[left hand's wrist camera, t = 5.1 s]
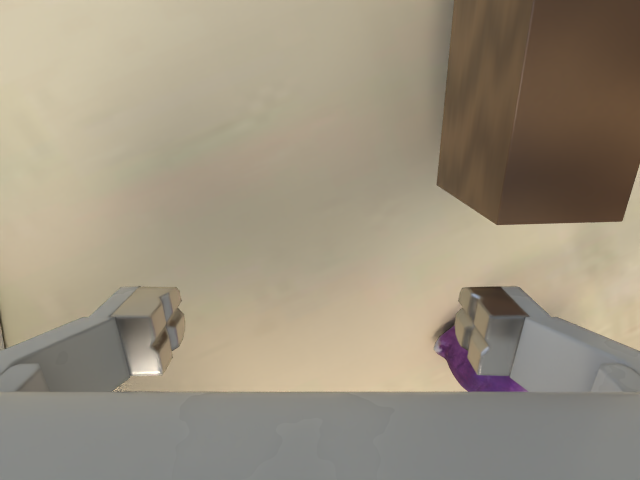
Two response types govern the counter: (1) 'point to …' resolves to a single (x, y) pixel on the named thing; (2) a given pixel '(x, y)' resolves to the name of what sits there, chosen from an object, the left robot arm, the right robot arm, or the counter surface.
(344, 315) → the counter surface
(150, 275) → the counter surface
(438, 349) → the figurine
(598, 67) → the box
